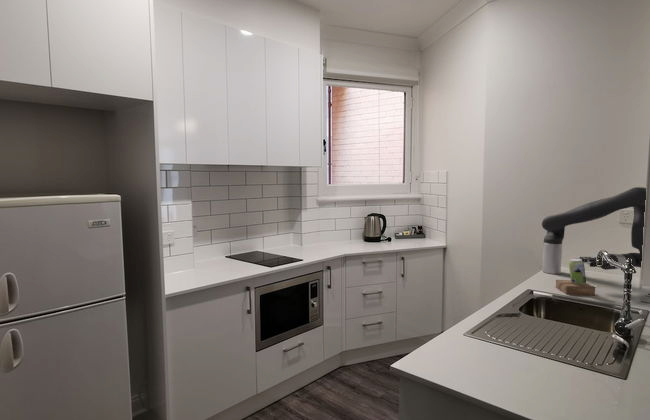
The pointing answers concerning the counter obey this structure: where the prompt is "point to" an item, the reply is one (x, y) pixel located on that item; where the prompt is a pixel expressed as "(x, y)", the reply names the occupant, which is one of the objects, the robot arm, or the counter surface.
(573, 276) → the beverage can
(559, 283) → the walnut base
